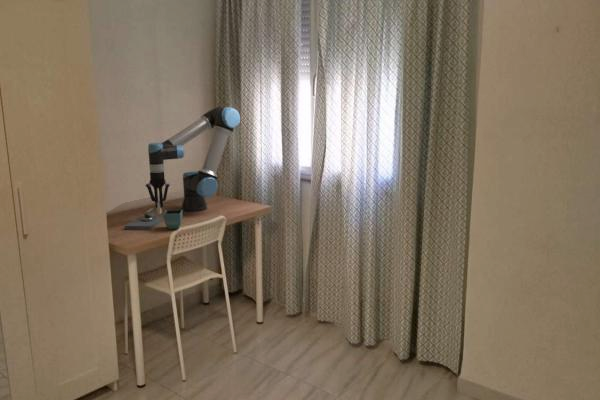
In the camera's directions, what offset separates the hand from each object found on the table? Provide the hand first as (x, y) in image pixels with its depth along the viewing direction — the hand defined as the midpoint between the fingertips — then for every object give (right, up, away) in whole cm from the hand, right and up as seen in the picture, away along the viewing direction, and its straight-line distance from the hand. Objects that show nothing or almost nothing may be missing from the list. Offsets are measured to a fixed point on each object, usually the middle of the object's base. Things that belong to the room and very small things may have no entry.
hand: (159, 213), depth 280 cm
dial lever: (-5, -3, -2) cm, 6 cm away
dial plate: (-6, -6, -6) cm, 11 cm away
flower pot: (+11, -8, -13) cm, 19 cm away
